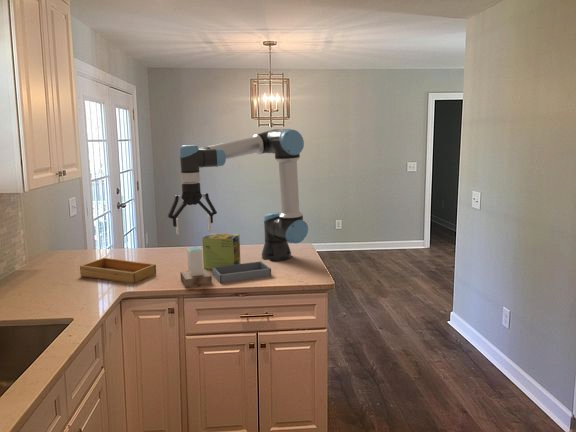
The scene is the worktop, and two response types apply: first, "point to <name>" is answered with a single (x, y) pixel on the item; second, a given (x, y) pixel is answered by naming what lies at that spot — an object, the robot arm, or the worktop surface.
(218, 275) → the bin
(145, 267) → the tray
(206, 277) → the stand
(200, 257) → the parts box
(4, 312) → the worktop surface
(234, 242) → the protein box
